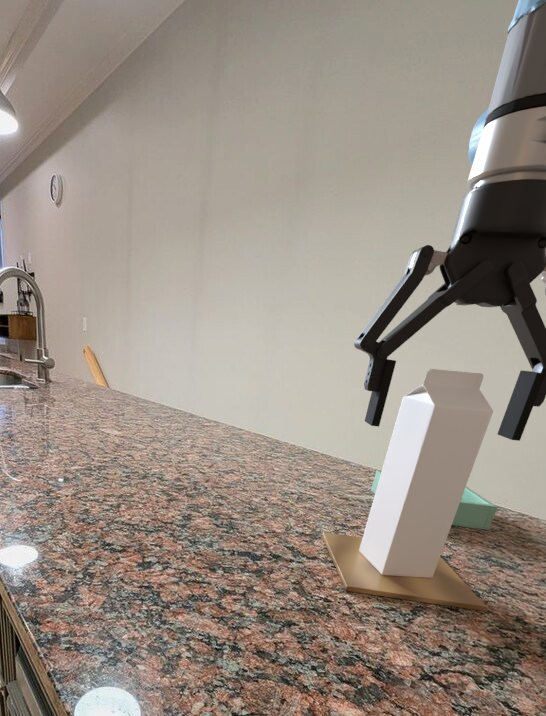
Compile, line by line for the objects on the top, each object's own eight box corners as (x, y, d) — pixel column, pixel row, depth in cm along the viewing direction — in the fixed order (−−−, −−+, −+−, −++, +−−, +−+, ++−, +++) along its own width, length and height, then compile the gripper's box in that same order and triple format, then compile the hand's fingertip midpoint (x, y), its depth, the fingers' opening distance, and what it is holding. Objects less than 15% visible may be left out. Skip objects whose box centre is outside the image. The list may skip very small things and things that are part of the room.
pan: (448, 499, 80) (456, 479, 79) (488, 530, 68) (498, 506, 66) (370, 489, 82) (376, 469, 80) (395, 517, 69) (402, 495, 68)
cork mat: (430, 550, 59) (431, 546, 59) (485, 611, 46) (487, 606, 46) (321, 536, 60) (322, 532, 60) (345, 590, 47) (346, 586, 47)
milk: (358, 551, 56) (409, 366, 47) (405, 554, 56) (463, 370, 48) (382, 576, 50) (445, 371, 42) (434, 579, 50) (506, 376, 42)
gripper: (378, 167, 37) (323, 424, 45) (719, 181, 34) (595, 452, 42) (355, 193, 43) (311, 412, 52) (637, 206, 41) (544, 435, 49)
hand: (438, 430), depth 47 cm, fingers open, 13 cm apart
